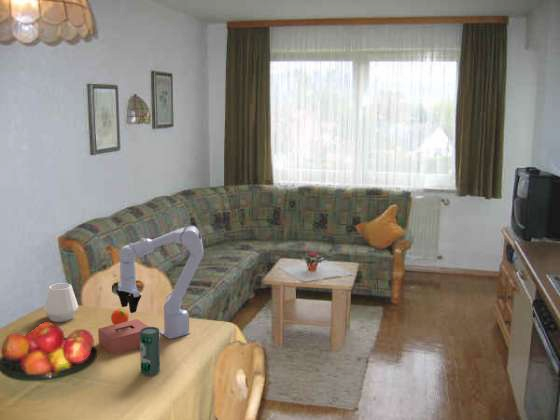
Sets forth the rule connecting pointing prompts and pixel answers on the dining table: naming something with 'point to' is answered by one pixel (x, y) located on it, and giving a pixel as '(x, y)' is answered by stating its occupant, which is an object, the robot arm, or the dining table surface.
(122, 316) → the clementine
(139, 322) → the coin box
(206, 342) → the dining table surface
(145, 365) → the can
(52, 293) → the white tapered hollow vessel
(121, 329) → the token
